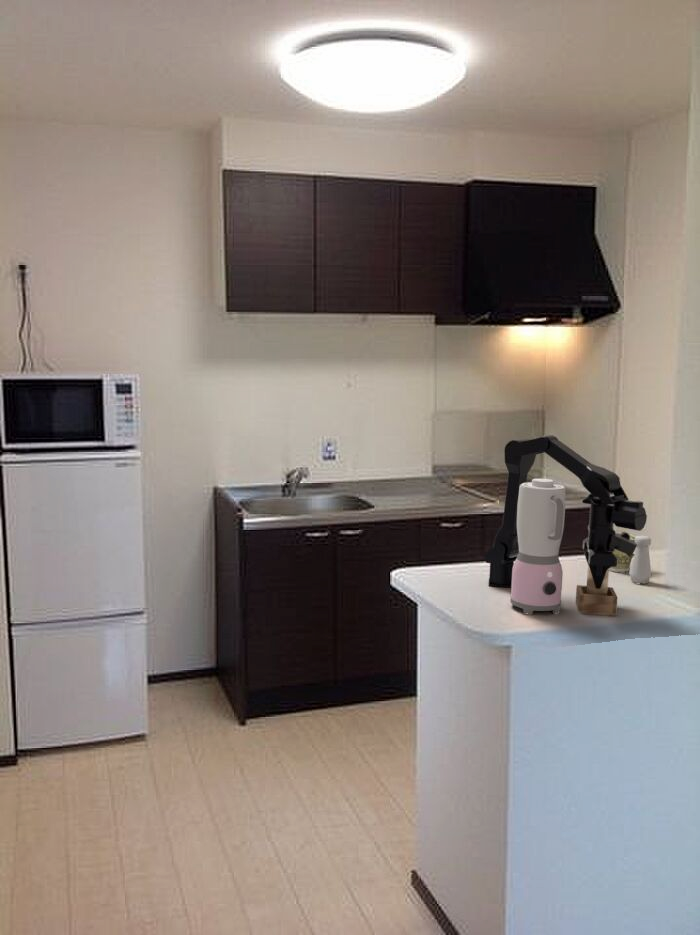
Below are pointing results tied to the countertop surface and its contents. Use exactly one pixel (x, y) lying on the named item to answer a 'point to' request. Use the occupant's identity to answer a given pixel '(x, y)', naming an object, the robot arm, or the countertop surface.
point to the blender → (539, 547)
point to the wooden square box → (596, 602)
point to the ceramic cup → (622, 559)
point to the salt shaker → (641, 561)
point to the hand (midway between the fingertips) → (596, 585)
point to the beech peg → (591, 586)
